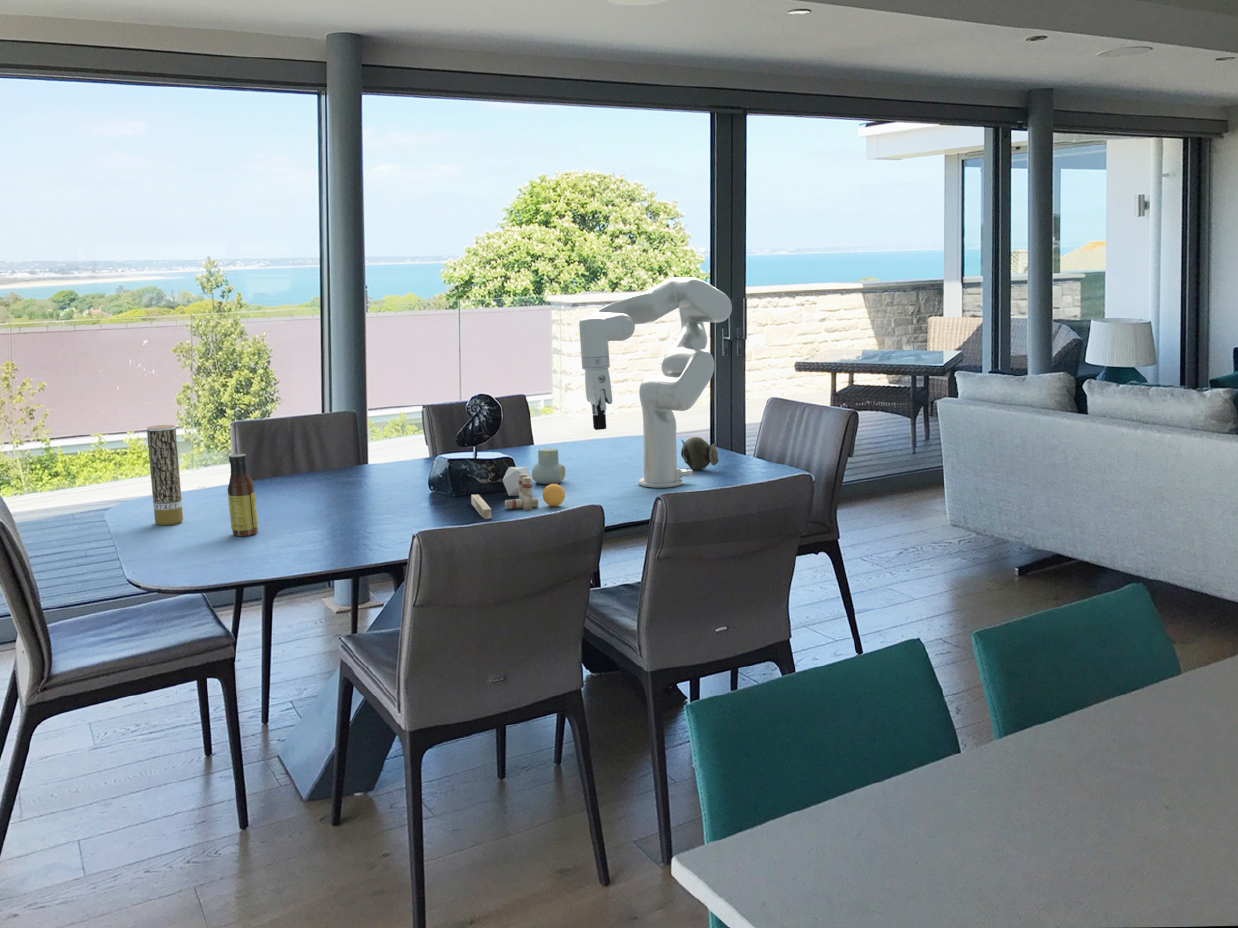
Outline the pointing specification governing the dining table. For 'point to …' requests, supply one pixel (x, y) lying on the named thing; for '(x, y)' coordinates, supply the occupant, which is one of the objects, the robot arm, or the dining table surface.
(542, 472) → the air freshener
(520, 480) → the pin
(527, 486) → the pin
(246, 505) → the sauce bottle
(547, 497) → the ball
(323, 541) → the dining table surface
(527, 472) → the die
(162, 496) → the paper tube
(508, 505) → the front pin
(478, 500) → the backstop
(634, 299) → the robot arm
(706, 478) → the dining table surface
